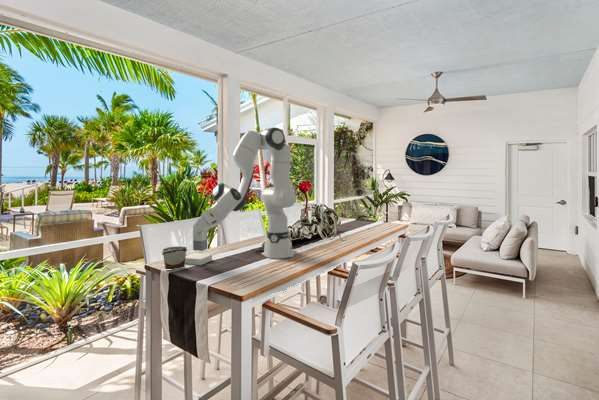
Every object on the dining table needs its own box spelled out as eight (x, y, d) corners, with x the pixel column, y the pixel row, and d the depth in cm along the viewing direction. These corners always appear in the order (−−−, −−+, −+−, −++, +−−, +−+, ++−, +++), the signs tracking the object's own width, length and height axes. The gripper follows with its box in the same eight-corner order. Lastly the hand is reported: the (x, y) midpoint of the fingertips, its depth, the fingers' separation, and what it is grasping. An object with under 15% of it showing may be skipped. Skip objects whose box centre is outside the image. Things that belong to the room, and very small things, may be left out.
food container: (181, 264, 179) (181, 245, 178) (187, 266, 174) (187, 247, 174) (157, 268, 170) (157, 248, 169) (163, 271, 166) (162, 250, 165)
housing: (198, 248, 181) (198, 227, 180) (207, 248, 180) (206, 227, 179) (193, 250, 177) (192, 228, 176) (202, 250, 175) (201, 229, 174)
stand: (194, 258, 191) (194, 252, 191) (212, 259, 188) (212, 254, 188) (182, 263, 181) (182, 257, 180) (201, 265, 178) (201, 259, 177)
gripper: (221, 208, 185) (205, 225, 188) (201, 212, 165) (183, 232, 168) (229, 216, 184) (213, 234, 187) (210, 222, 164) (192, 241, 168)
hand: (198, 233), depth 178 cm, fingers closed on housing, 5 cm apart
